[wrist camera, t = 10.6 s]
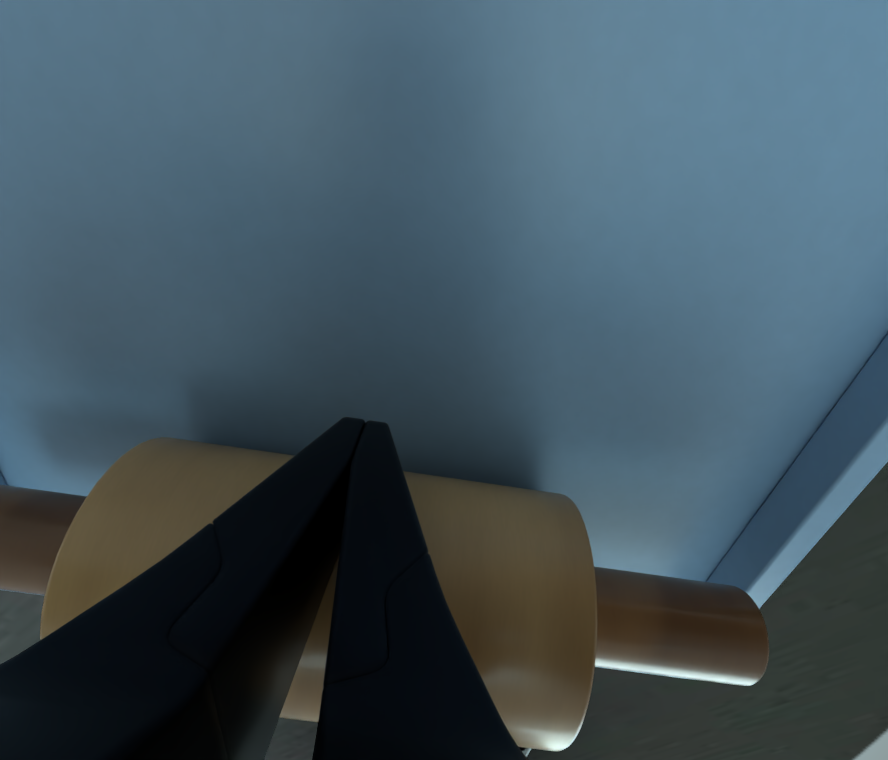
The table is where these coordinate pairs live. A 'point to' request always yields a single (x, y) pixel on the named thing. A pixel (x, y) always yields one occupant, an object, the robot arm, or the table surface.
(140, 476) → the rolling pin
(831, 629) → the table surface
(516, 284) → the tray
